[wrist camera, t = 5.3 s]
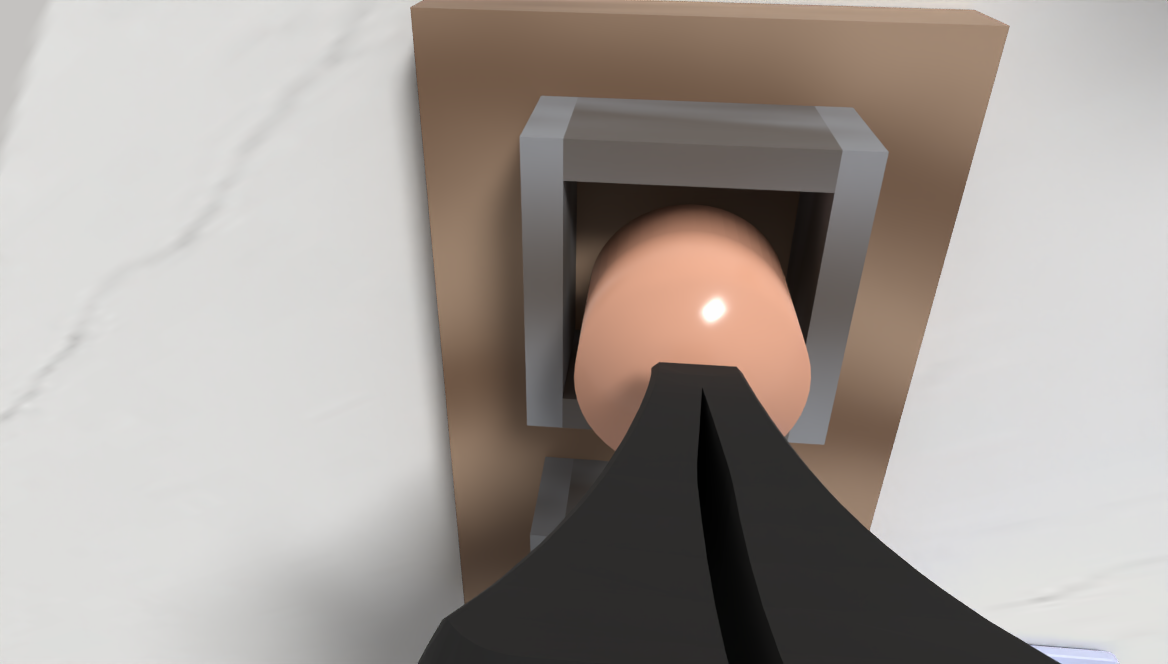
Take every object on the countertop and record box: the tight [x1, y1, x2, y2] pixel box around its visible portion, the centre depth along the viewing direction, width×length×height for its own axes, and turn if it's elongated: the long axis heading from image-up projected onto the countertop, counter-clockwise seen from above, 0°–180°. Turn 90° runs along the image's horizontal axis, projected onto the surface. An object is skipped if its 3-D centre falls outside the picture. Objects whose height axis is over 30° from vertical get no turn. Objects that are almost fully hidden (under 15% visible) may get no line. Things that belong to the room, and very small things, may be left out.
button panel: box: [410, 0, 1009, 604], centre depth 20 cm, size 20×12×5 cm, turn 179°
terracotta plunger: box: [574, 204, 811, 451], centre depth 15 cm, size 4×4×3 cm
